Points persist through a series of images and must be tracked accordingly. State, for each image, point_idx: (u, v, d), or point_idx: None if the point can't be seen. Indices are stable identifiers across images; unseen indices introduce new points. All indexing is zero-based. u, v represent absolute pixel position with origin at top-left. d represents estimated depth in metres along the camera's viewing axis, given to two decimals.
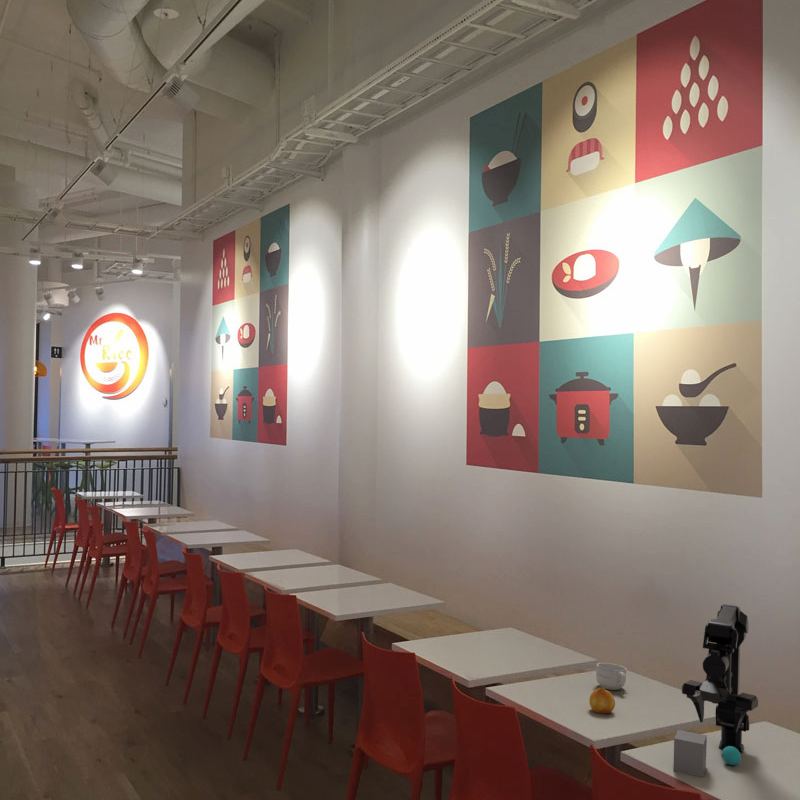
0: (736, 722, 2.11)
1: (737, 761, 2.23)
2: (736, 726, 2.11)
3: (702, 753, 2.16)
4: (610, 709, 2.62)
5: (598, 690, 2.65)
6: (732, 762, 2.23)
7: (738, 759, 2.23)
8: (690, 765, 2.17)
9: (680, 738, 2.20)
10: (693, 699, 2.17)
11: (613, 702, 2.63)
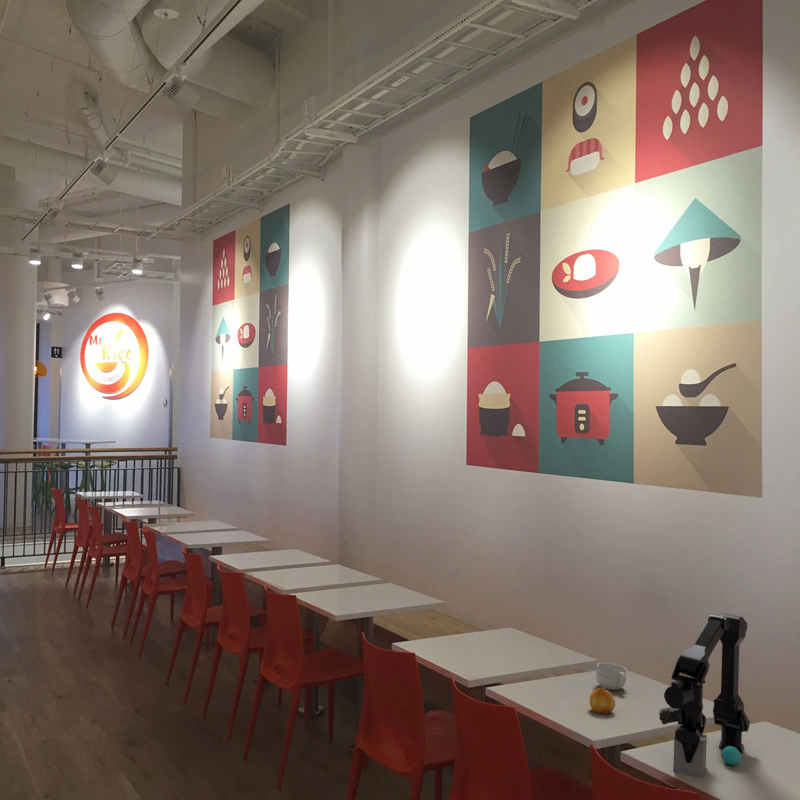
0: (684, 752, 2.17)
1: (737, 761, 2.23)
2: (685, 756, 2.17)
3: (702, 753, 2.16)
4: (610, 709, 2.62)
5: (598, 690, 2.65)
6: (732, 762, 2.23)
7: (738, 759, 2.23)
8: (690, 765, 2.17)
9: None
10: None
11: (613, 702, 2.63)
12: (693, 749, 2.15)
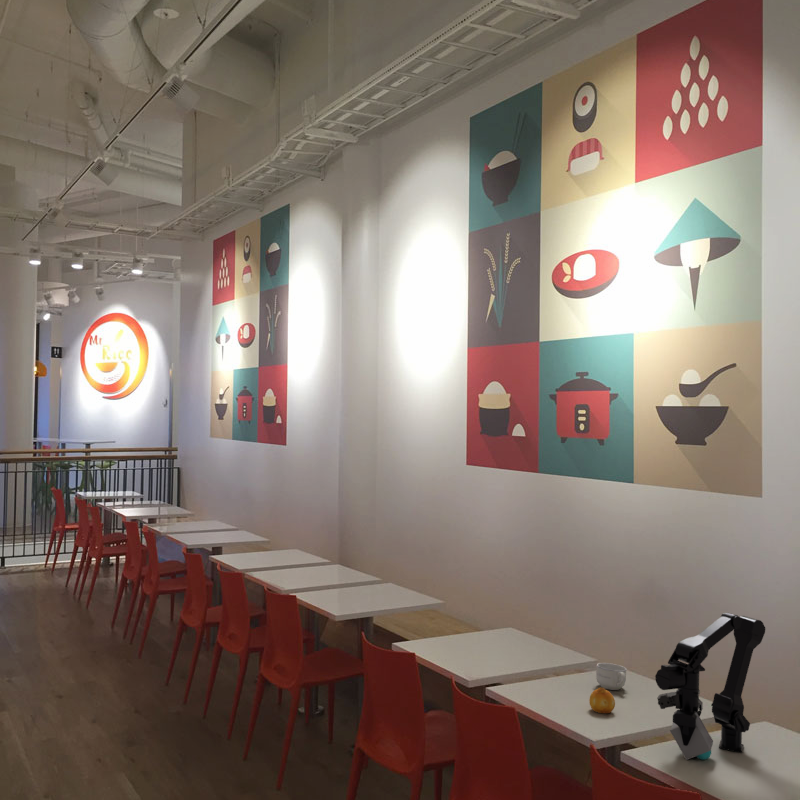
0: None
1: None
2: None
3: (698, 729, 2.26)
4: (610, 709, 2.62)
5: (598, 690, 2.65)
6: None
7: None
8: (695, 746, 2.26)
9: (675, 727, 2.30)
10: None
11: (613, 702, 2.63)
12: (690, 732, 2.25)
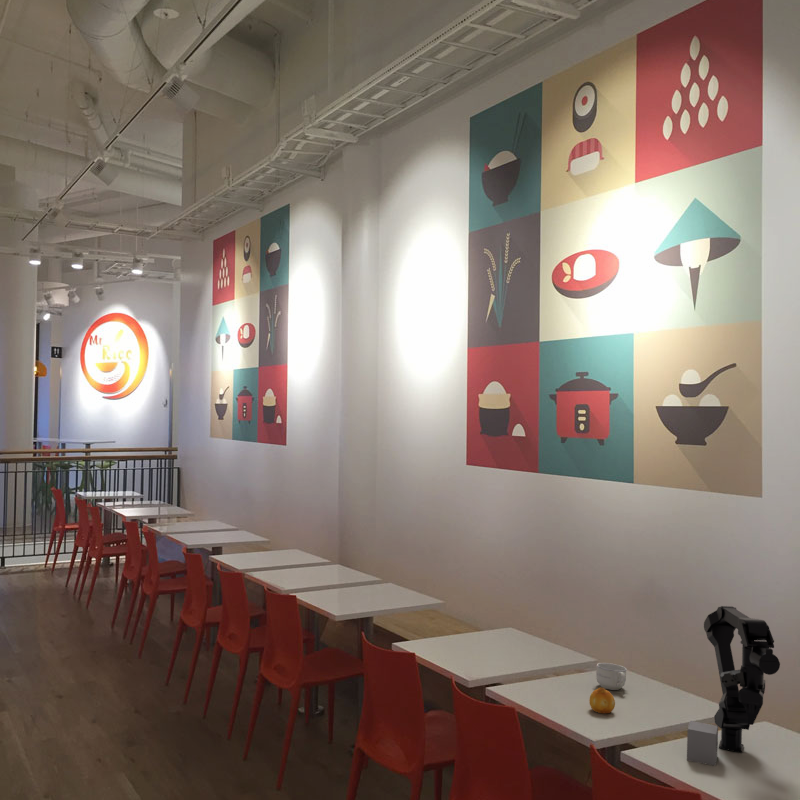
0: (746, 714, 2.21)
1: None
2: (747, 718, 2.21)
3: (715, 743, 2.24)
4: (610, 709, 2.62)
5: (598, 690, 2.65)
6: None
7: None
8: (703, 754, 2.25)
9: (693, 728, 2.28)
10: None
11: (613, 702, 2.63)
12: (756, 711, 2.19)
